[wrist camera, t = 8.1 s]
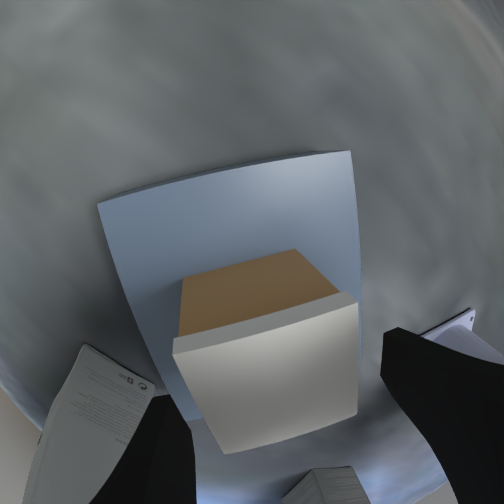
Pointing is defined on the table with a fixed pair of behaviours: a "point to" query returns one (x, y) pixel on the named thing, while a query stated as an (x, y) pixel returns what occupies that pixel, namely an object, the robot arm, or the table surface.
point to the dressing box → (229, 237)
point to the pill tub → (268, 350)
